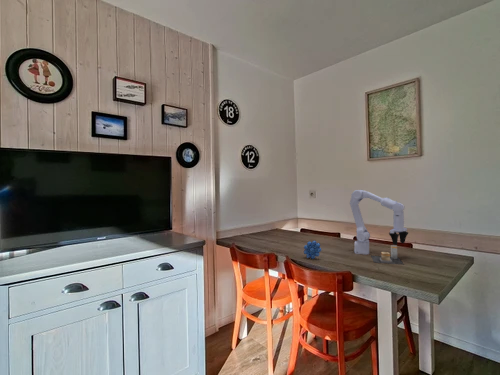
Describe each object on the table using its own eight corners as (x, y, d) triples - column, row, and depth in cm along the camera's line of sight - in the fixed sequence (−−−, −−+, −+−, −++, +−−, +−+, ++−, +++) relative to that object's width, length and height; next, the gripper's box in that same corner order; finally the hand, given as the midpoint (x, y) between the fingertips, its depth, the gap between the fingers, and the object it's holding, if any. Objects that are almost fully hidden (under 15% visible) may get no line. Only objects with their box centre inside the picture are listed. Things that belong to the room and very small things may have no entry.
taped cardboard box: (382, 261, 158) (382, 253, 158) (381, 259, 162) (381, 251, 162) (390, 262, 157) (389, 253, 157) (388, 260, 161) (388, 252, 161)
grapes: (323, 258, 172) (322, 239, 171) (320, 260, 166) (320, 241, 165) (305, 256, 177) (305, 238, 177) (302, 258, 171) (302, 240, 171)
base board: (374, 264, 157) (374, 260, 157) (370, 257, 172) (370, 254, 172) (404, 266, 152) (404, 263, 152) (398, 259, 167) (398, 255, 167)
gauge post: (391, 258, 164) (391, 246, 164) (390, 257, 167) (390, 244, 167) (397, 259, 163) (397, 246, 163) (396, 257, 166) (396, 245, 166)
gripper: (397, 223, 158) (397, 246, 158) (411, 222, 165) (411, 243, 165) (386, 222, 164) (386, 244, 164) (400, 220, 171) (400, 241, 171)
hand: (398, 243), depth 165 cm, fingers open, 7 cm apart
